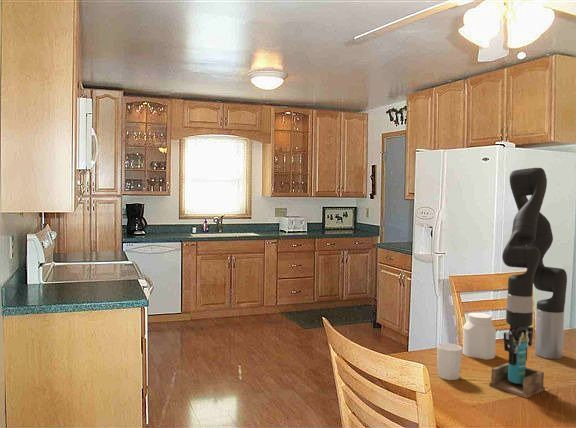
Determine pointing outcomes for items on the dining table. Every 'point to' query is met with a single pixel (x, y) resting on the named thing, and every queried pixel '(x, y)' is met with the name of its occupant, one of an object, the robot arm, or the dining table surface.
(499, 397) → the dining table surface
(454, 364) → the white cup
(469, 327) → the jar
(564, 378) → the dining table surface
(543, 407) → the dining table surface
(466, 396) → the dining table surface
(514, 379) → the tube
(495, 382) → the u rest
